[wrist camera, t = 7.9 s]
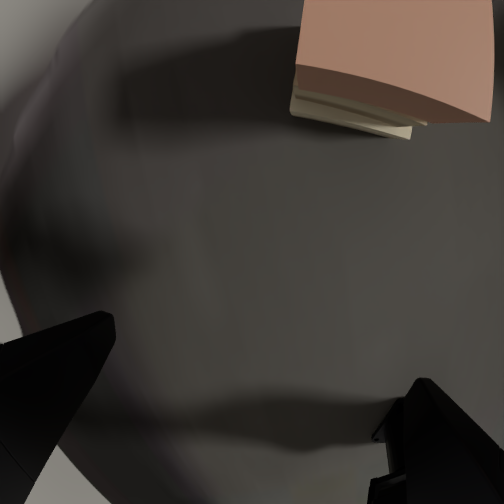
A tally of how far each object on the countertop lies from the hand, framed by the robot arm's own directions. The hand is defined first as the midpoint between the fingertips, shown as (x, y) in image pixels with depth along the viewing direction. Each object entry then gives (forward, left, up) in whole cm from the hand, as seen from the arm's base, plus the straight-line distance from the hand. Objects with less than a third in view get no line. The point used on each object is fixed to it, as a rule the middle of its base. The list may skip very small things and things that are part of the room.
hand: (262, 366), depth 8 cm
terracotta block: (+10, -2, -5) cm, 11 cm away
